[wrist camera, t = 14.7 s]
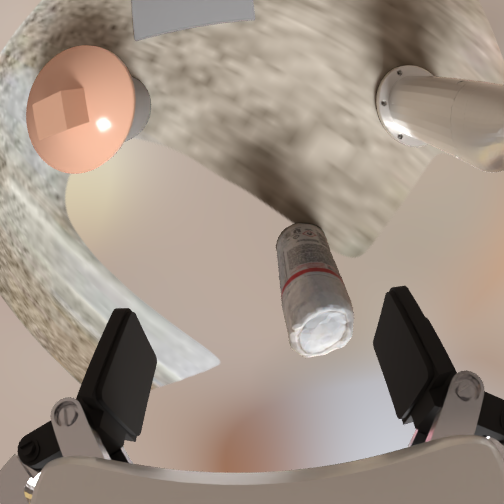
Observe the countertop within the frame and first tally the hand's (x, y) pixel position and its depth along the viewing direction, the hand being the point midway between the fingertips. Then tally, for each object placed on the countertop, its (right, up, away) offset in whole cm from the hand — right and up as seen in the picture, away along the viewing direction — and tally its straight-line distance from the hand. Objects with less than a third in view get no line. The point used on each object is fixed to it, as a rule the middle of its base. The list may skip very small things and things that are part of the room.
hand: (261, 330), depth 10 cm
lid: (-20, +19, +15) cm, 31 cm away
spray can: (+7, +4, +36) cm, 37 cm away
